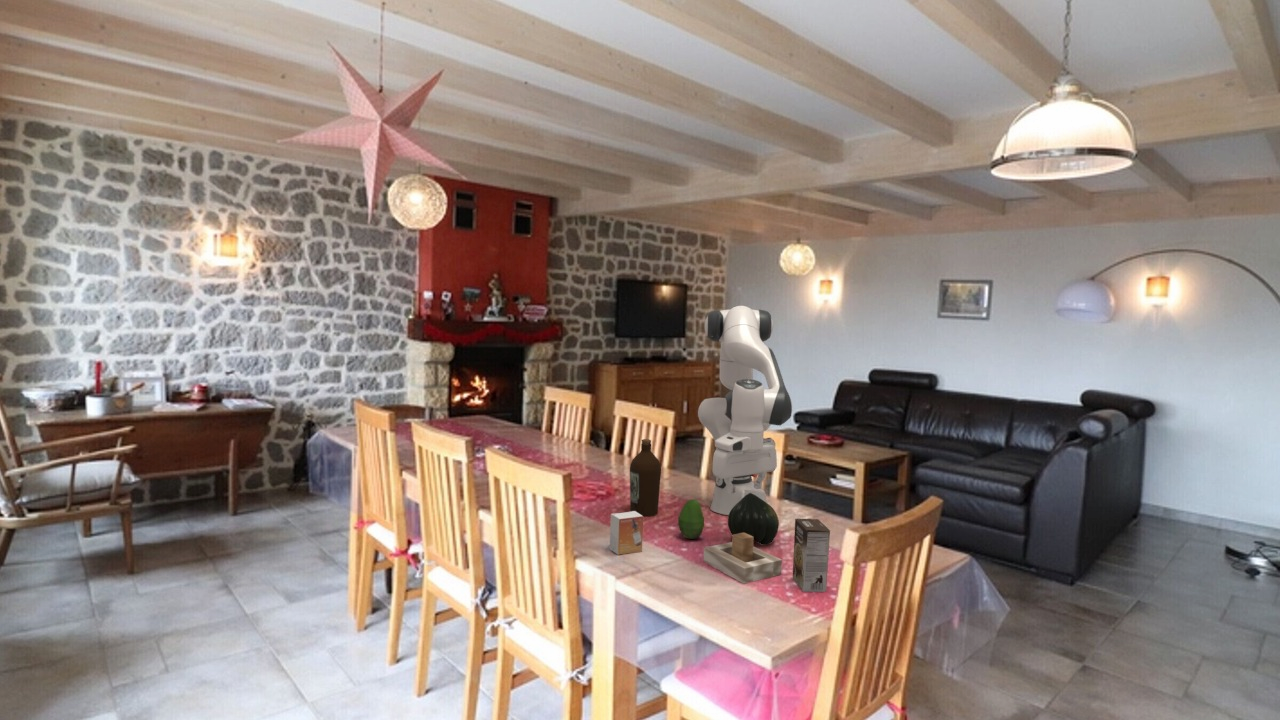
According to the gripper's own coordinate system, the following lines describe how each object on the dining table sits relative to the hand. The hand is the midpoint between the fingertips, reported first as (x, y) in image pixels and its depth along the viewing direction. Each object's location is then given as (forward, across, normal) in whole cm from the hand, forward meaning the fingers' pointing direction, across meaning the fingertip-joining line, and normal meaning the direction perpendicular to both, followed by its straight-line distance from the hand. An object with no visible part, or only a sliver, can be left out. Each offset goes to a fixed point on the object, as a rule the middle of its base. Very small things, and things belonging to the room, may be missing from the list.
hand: (744, 490), depth 187 cm
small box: (+21, +22, -25) cm, 39 cm away
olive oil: (+22, -2, -53) cm, 57 cm away
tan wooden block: (+21, +1, +1) cm, 21 cm away
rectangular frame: (+21, +1, +1) cm, 21 cm away
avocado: (+22, -1, -25) cm, 33 cm away
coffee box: (+21, -7, +18) cm, 29 cm away
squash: (+22, -16, -14) cm, 30 cm away
